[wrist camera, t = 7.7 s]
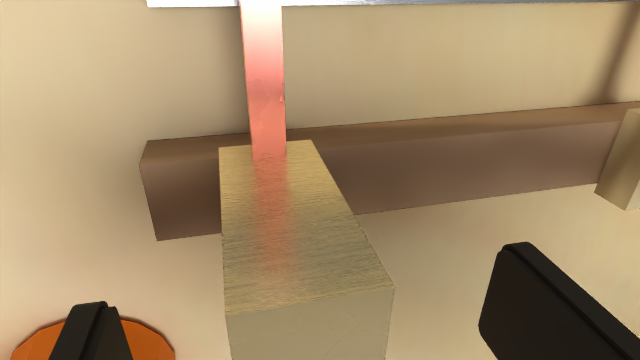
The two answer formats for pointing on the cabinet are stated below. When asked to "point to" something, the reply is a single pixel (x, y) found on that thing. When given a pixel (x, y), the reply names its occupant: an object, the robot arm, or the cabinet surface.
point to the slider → (291, 231)
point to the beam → (418, 162)
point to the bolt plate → (344, 2)
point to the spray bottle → (144, 344)
